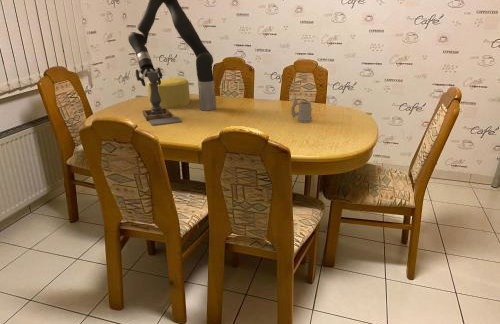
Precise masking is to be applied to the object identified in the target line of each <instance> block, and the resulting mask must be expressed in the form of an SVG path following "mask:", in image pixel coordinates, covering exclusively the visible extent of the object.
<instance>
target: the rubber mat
mask: <svg viewBox="0 0 500 324" xmlns="http://www.w3.org/2000/svg"><path fill="white" fill-rule="evenodd" d="M148 122H149V125H151V127H154V126H161V125H169V124H177V123H182V120H181V119H180V118H179V116H172V117H170V118H162V119H153V120H149V121H148Z"/></svg>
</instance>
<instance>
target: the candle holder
mask: <svg viewBox="0 0 500 324" xmlns="http://www.w3.org/2000/svg"><path fill="white" fill-rule="evenodd" d="M147 75H148V77H147V79H148V82H149V81H150V83H149V85H150V86H151V96H150V102H151V104H152V105H153V106H152V107H151V109H150V110H152V111H151V114H150V115H159V114H164V113H162V110H161V109H162V108H161V106H160V103H161V98H160V95H159V92H158V84H159V83H158V82H157V80H158V75H159V74H158V72H157V71H150V72H147Z"/></svg>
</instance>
